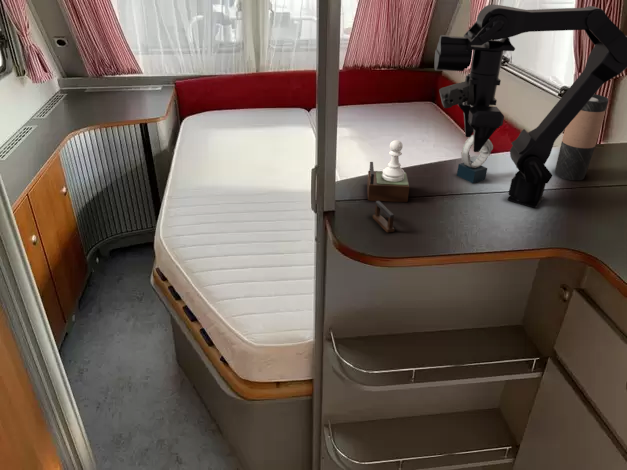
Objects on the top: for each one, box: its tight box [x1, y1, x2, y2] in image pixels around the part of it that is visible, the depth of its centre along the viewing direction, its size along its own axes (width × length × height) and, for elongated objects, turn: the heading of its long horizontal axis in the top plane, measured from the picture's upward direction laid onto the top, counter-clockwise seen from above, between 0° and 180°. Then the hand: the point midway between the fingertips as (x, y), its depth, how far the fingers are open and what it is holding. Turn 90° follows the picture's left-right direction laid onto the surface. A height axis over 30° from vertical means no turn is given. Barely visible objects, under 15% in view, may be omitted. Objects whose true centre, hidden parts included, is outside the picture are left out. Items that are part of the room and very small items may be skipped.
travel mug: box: [554, 93, 609, 181], centre depth 131 cm, size 8×8×20 cm
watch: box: [456, 134, 494, 184], centre depth 130 cm, size 6×8×11 cm
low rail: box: [372, 201, 395, 234], centre depth 110 cm, size 7×2×4 cm, turn 21°
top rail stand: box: [366, 161, 410, 203], centre depth 122 cm, size 9×8×6 cm
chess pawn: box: [382, 139, 405, 182], centre depth 119 cm, size 5×5×9 cm
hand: (471, 144), depth 117 cm, fingers open, 9 cm apart
